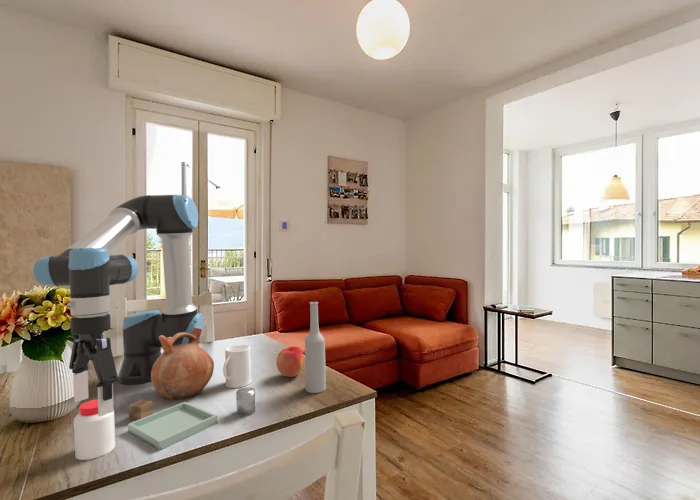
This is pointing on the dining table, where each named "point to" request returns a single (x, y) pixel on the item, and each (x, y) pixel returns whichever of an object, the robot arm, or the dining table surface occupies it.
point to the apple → (290, 361)
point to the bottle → (315, 355)
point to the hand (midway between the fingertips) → (93, 406)
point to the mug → (237, 366)
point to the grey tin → (245, 401)
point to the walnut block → (140, 409)
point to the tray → (172, 425)
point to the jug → (182, 367)
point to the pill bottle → (93, 432)
